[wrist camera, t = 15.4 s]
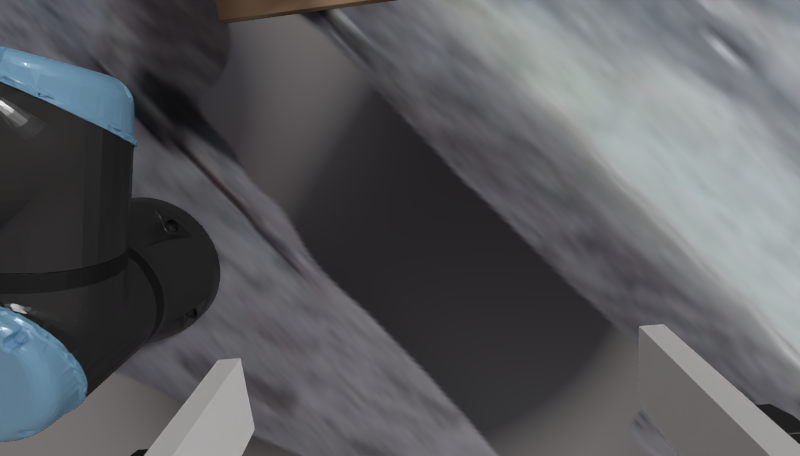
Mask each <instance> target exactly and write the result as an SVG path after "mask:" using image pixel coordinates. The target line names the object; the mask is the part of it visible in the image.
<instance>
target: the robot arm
mask: <svg viewBox="0 0 800 456" xmlns="http://www.w3.org/2000/svg"><path fill="white" fill-rule="evenodd" d="M134 147H137V140H136V138H135V137H134V101H133V97H132V94H131V93H130V91H129V90H128V88H127V87H126V86H125V85H124V84H123V83H122V82H121V81H119V80H118V79H116V78H114V77H111V76H108V75H105V74H102V73H99V72H96V71H92V70H89V69H85V68H82V67H78V66H75V65H71V64H67V63H64V62H60V61H57V60H53V59H49V58H45V57H42V56H38V55H34V54H31V53H27V52H23V51H19V50H15V49H11V48H7V47H2V46H0V442H9V441H16V440H20V439H23V438H27V437H30V436H32V435H35V434H37V433H39V432H41V431H43V430H44V429H46V428H47V427H48V426H50V425H51V424H52V423H54V422H55V421H56V420H58V419H59V418H60V417H61V416H63V415H64V414H66V413H68V412H70V411H72V410H74V409H76V408H77V407H78V406H79V405H80V404H81V403H82V402H83V401H84V399H85V398H86V397H87V396H88V395H89V394H90V393H91V392H93V391H94V390H95V389H96V388H97V387H98V386H99V385H100V384H101V383H102V382H103V381H104V380H106V379H107V378H108V377H109V376H110V375H111V374H112V373H113V372H114V371H116V370H117V369H118V368H119V367H120V366H121V365H122V364H123V363H124V362H125V361H127V360H128V359H129V358H130V357H131V356H132V355H133V354H134V353H135V352H136V351H137V350H139V349H140V348H141V347H142V346H143V345H144V344H145V343H149V342H152V341H155V340H159V339H162V338H166V337H169V336H172V335H175V334H177V333H179V332H181V331H183V330H185V329H186V328H188V327H189V326H191V325H192V324H193V323H194V322H195V321H196V320H198V319H199V318H200V317H201V316H202V315H203V314H204V313H205V312H206V310H207V309H208V308H209V307H210V305H211V304H212V302H213V300H214V298H215V296H216V294H217V290H218V287H219V281H220V265H219V259H218V255H217V252H216V249H215V247H214V244H213V242H212V240H211V239H210V237H209V235H208V234H207V232H206V231H205V230H204V228H203V227H202V226H201V225H200V224H199V223H198V222H197V221H196V220H195V219H194V218H193V217H192V216H191V215H189V214H188V213H187V212H185V211H184V210H182V209H180V208H179V207H177V206H175V205H173V204H170V203H168V202H165V201H162V200H158V199H152V198H131V196H132V173H133V151H134ZM638 403H639V404H640V405H641V406H642V408H643V409H644V411H645V412H646V413H647V415H648V416H649V417H650V419H651V420H652V421H653V423H654V424H655V425H656V427H657V428H658V429H659V431H660V432H661V433H662V435H663V436H664V437H665V439H666V440H667V441H668V443H669V444H670V445H671V447H672V448H673V449H674V451H675V452H676V453H677V455H678V456H800V421H799V420H798V419H797V418H795V417H794V416H793V415H791V414H789V413H787V412H785V411H783V410H781V409H779V408H777V407H775V406H773V405H771V404H763V405H754V404H753V403H752V402H751V401H750V400H749V399H748V398H746V397H745V396H744V395H743V394H742V393H741V392H740V391H738V390H737V389H736V388H735V387H734V386H733V385H732V384H731V383H729V382H728V381H727V380H726V379H725V378H724V377H723V376H722V375H720V374H719V373H718V372H717V371H716V370H715V369H714V368H712V367H711V366H710V365H709V364H708V363H707V362H706V361H705V360H703V359H702V358H701V357H700V356H699V355H698V354H697V353H695V352H694V351H693V350H692V349H691V348H690V347H689V346H688V345H686V344H685V343H684V342H683V341H682V340H681V339H680V338H678V337H677V336H676V335H675V334H674V333H673V332H672V331H671V330H669V329H668V328H667V327H666V326H665V325H664V324H661V325H649V326H639V367H638ZM254 430H255V428H254V423H253V418H252V413H251V408H250V403H249V399H248V394H247V389H246V384H245V379H244V374H243V369H242V364H241V359H240V358H238V359H226V360H218V361H217V362H216V363H215V365H214V366H213V367H212V369H211V370H210V371H209V372H208V374H207V375H206V376H205V378H204V379H203V380H202V381H201V383H200V384H199V385H198V387H197V388H196V389H195V391H194V392H193V393H192V394H191V396H190V397H189V398H188V400H187V401H186V402H185V403H184V405H183V406H182V407H181V409H180V410H179V411H178V412H177V414H176V415H175V416H174V418H173V419H172V420H171V421H170V423H169V424H168V425H167V427H166V428H165V429H164V430H163V432H162V433H161V434H160V436H159V437H158V438H157V439H156V441H155V442H154V443H153V445H152V446H151V447H150V448H149V449H145V450H137V451H136V452H135V453H133V454H132V455H131V456H242V454H243V452H244V450H245V448H246V446H247V444H248V442H249V440H250V438H251V436H252V434H253V432H254Z"/></svg>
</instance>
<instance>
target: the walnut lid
mask: <svg viewBox="0 0 800 456" xmlns="http://www.w3.org/2000/svg"><path fill="white" fill-rule="evenodd" d="M387 1H395V0H215V2H216V7H217V13H218V18H219V21H221V22H224V23H232V22H239V21H247V20H254V19H261V18H269V17H276V16H284V15H291V14H298V13H306V12H313V11H321V10H328V9H336V8H343V7H350V6H358V5H365V4H373V3H380V2H387Z"/></svg>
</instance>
